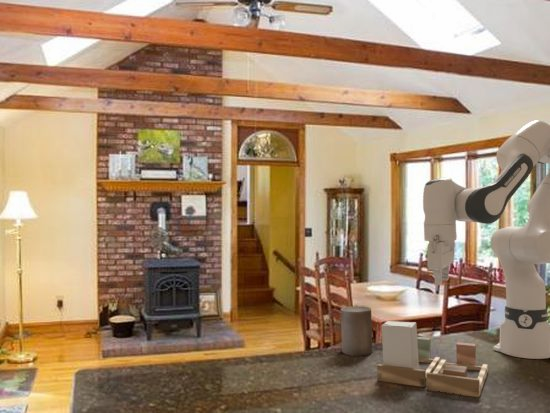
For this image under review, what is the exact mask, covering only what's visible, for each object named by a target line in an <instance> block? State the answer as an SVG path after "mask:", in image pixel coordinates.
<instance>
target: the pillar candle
mask: <svg viewBox="0 0 550 413" xmlns="http://www.w3.org/2000/svg"><path fill="white" fill-rule="evenodd" d="M340 320H341V321H340V324H341V326H340V328H341V330H340V331H341V332H340V333H341V336H340V337H341V352H342V353H343V354H345V355H348V356H353V357H357V356H358V357H362V356H368V355H371V354H373V326H372V323H373V320H372V309H371V307H368V306H360V305H359V306H358V305H357V304H356V305H355V306H354V305H353V306H345V307H344V306H343V307H341V308H340Z"/></svg>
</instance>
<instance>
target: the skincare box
mask: <svg viewBox="0 0 550 413" xmlns="http://www.w3.org/2000/svg"><path fill="white" fill-rule="evenodd" d="M417 327H418V326H417V322H416V321H415V322H414V321H413V322H412V321H411V322H410V321H393V320H387V321H386V322H384V323H383V324H382V325H381V340H382V341H381V343H382V360H383V364H382V365H390V366H398V367H406V368H414V369H420V366H419V365H420V364H419V363H420V362H419V360H418V343H417V337H418V328H417Z"/></svg>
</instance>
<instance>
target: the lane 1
mask: <svg viewBox="0 0 550 413" xmlns="http://www.w3.org/2000/svg"><path fill="white" fill-rule="evenodd" d="M431 339H432V338H431V337H423V336H422V337H421V336H417V343H418V360H419V363H420V362H421V363H428V364H429V366H428V367H427V368H426V369H422V368H419V369H414V368H406V367H398V366H390V365H384V364H380V363H379V364H377V366H376V367H377V369H376V370H377V376H376V377H377V378H376V379H377V381H379V382H386V383H393V384H398V385H399V384H400V385H408V386H414V387H423V388H426V387H427V372H428V373H433V372H434V370H435V369H436V367H437V366H438V364H439V363H440V361H441V360H442V359H441V357H440V356H435V357H434V358H431V357H432V355H431V354H432V353H431V352H432V344H431V341H432V340H431Z"/></svg>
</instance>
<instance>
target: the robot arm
mask: <svg viewBox="0 0 550 413" xmlns="http://www.w3.org/2000/svg"><path fill="white" fill-rule="evenodd" d="M495 156H496V162H497V164H498V166H499V168H500V169H501V170H502V171H501V172H500V174H499V175H498V176H497V177H496V178H495V179H494V181H493V182H492V183H490V184H489V185H488V184H487V185H486V186H485V185H484V186H482V187H476V188H473V187H472V188H467V187H464V186H462V185H459V184H458V183H456V182H455V181H453V179H452V178H450V177H441V178H435V179H431V180H429V181H427V182H426V183H425V184H424V188H423V192H422V195H423V196H422V198H423V199H422V208H423V213H424V222H423V233H424V234H423V236H424V239H423V240H424V241H425V242H428V243H427V252H426V254H427V255H426V256H427V258H426V259H427V261H426V262H427V263H426V264H427V269H428V270H429V271H432V274H433V278H434V284H435V285H436V286H441V285H442V284H443V281H448V280H449V278H450V276H449V273H450V265H451V264H453V263H454V262H455V261H454V260H455V248H456V247H455V244H456V242H455V241H456V240H457V238H458V236H457V235H458V234H457V223H456V222H457V221H458V222H465V223H468V222H469V223H479V224H486V225H488V224H489V225H490V224H492V223H495V222H497V221H498V220H499V219H500V218H501V217H502V215H503V213H504V211H505V209H506V207H507V204H508V203H509V202H510V200H511V198H512V196H514V195H515V193H516V192H518V189H519V188H520V187H521V186H522V185H523V184H524V182H526V180H527V179H528V178H529V176H530V174H531V173H532V172H533V169H534V167H535V166H536V165H537V164H541V165H544V164H548V165H550V124H549V123H548V122H545V121H542V120H534V121H531V122H528V123H527V124H525V125H523V126H522V127H520V128H519V129H518V130H517V131H515V132H514V133H513V134H511V135H510V137H508V138H507V139H505V141H504V142H503V143H502V144H501V145H500V147H499V148H498V150H497V151H496V155H495ZM526 209H527V210H526V211H527V212H528V214H529V217H528V219H527V222H526V224H525V225H523V226H513V225H511V226H505V227H503V228H500V229H497V230H496V231H494V233H492V236H491V238H490V242H489V244H490V248H491V250H492V252H493V253H494V254H495V256H496V257H497V259H498V260H499V261H498V262H499V263H500V267H501V269H502V272H503V276H504V281H505V293H506V294H505V298H506V302H505V303H506V305H505V306H504V317H505V319H504V320H503V321H502V322H501V323H500V324H499V342H498V343H497V344H495V345H494V346H493V351H496V352H500V353H502V354H505V355H508V356H512V357H515V358H516V357H517V358H523V359H531V360H534V359H536V360H543V359H549V358H550V324H549V323H548V320H549V318H548V316H549V312H548V308H547V305H546V304H547V302H546V301H547V299H546V298H547V295H546V282H545V281H544V279H543V278H542V276H540V274H539V272H538V271H537V268H536V265H544V264H550V167H549V168H548V172H547V174H546V175H545V177H544V178H543V179H542V180H541V183H540V184H539V185H538V186H537V189H536V190H535V191H534V193H533V194H532V196H531V199H530V200H529V201H528V203H527V206H526Z"/></svg>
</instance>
